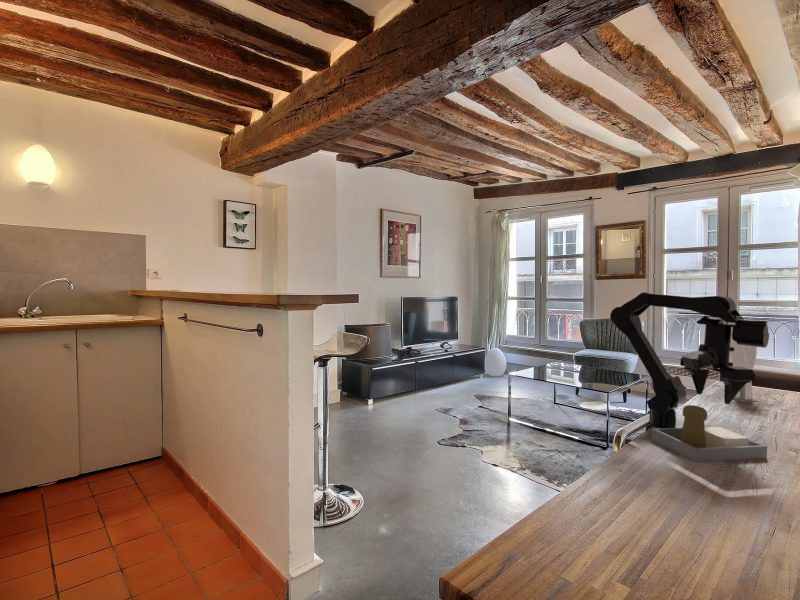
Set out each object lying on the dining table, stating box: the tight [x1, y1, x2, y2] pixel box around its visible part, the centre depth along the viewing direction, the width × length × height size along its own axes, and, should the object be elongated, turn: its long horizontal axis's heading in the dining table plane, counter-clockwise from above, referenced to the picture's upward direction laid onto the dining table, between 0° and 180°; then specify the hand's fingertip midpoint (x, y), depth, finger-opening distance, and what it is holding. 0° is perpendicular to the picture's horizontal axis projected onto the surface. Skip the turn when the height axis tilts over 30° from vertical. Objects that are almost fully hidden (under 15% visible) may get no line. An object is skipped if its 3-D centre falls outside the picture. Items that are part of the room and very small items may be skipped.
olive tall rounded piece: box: [680, 404, 708, 448], centre depth 109 cm, size 6×6×11 cm
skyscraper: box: [730, 339, 758, 403], centre depth 164 cm, size 8×8×28 cm
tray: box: [650, 427, 768, 463], centre depth 110 cm, size 14×20×4 cm
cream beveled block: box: [705, 426, 750, 448], centre depth 110 cm, size 8×7×4 cm
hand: (712, 398), depth 117 cm, fingers open, 9 cm apart
